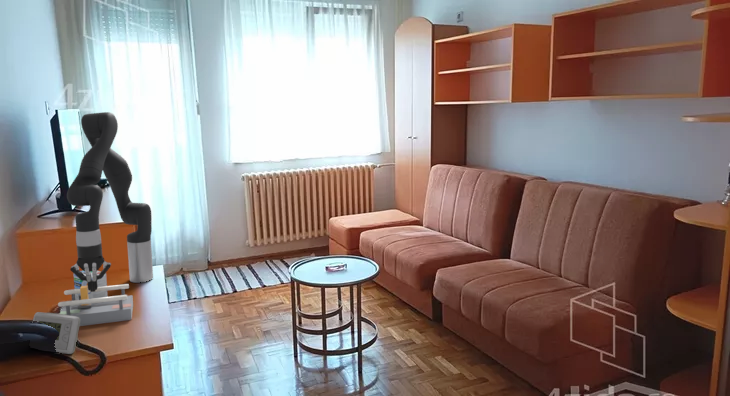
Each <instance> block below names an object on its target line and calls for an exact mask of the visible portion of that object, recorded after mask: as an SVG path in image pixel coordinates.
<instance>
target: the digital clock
mask: <svg viewBox="0 0 730 396" xmlns="http://www.w3.org/2000/svg"><path fill="white" fill-rule="evenodd" d="M33 321H37V322H40V323H44V324H46V325H48V326H51V327H53V328H55V329H56V330H57V331H58V332H59V336H58V337H57V339H56V340H55V343H54V344H55V346H54V347H55V348H56V349H55V350H56V352H59V353H58V354H60V353H62V354H61V355H63V354H67V355H72V354H74V352H75V351H76V347H77V346H76V342H77V340H78V341H79V337H78V336H79V335H78V334H79V331H80V326H79V325H80V318H79V317H76V316H70V315H65V314H60V313H56V312H54V313H53V312H43V311H42V312H41V311H37V312H35V313H34V315H33V318H32V322H33Z"/></svg>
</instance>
